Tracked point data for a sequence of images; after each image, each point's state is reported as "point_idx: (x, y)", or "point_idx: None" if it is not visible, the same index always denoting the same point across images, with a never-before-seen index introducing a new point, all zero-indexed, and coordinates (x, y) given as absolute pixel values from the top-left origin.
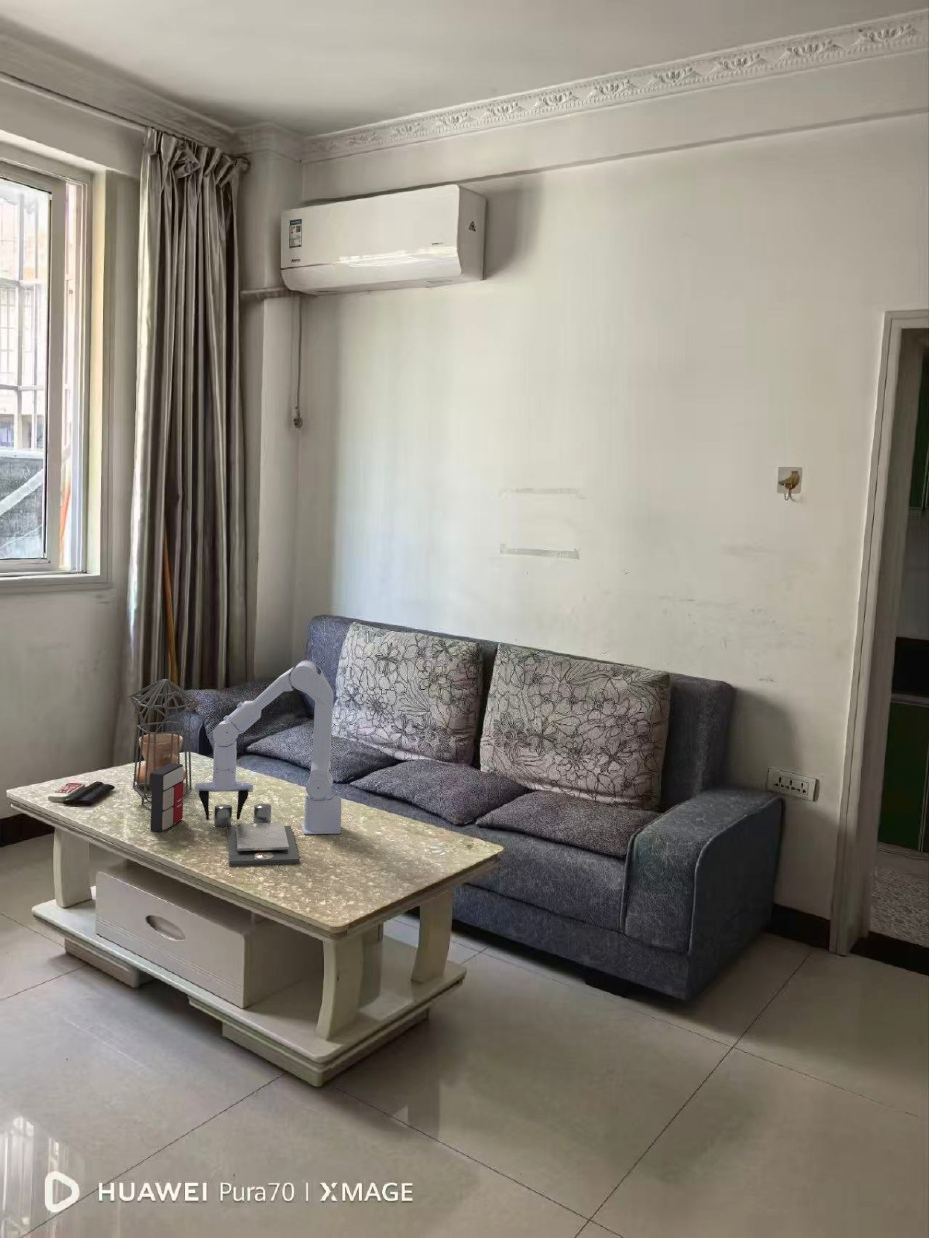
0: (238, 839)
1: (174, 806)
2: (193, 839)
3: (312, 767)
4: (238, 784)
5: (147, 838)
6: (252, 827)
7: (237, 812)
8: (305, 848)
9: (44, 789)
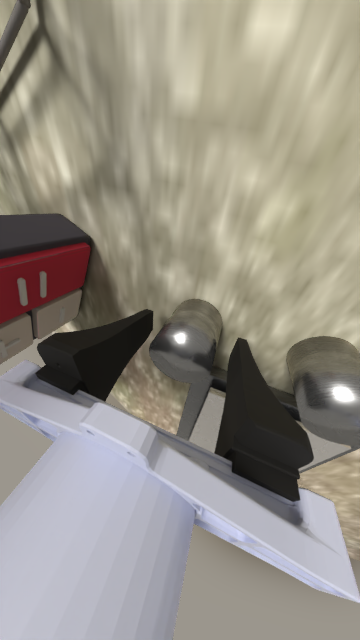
0: (192, 437)
1: (37, 306)
2: (134, 363)
3: None
4: (215, 523)
5: (67, 330)
6: None
7: (227, 378)
8: (310, 473)
9: None
